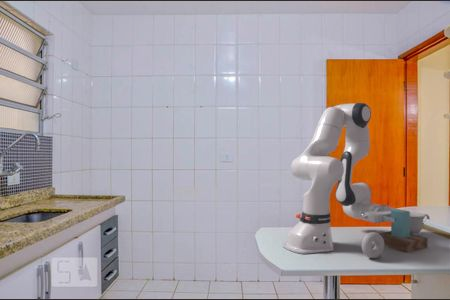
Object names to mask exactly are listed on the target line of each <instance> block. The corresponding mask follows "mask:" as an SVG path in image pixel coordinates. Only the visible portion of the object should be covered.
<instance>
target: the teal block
mask: <svg viewBox="0 0 450 300" xmlns="http://www.w3.org/2000/svg"><path fill="white" fill-rule="evenodd" d="M396 209H397V210H391V217H393V218H396V222H390V224H391V225H390V226H391V230H390V231H391V235H392V236H396V237H399V238H407V237H410V212H411V211H410V210H405V209H399V208H396Z"/></svg>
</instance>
